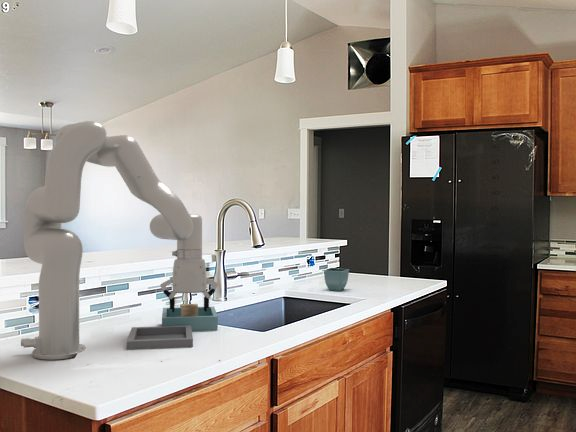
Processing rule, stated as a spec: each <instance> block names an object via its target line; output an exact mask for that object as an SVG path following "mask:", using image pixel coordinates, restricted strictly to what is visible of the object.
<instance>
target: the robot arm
mask: <svg viewBox="0 0 576 432" xmlns="http://www.w3.org/2000/svg"><path fill="white" fill-rule="evenodd" d="M107 135H108V133H107V130H106V128H105V126H103V125H102V124H101V123H99V122H97V121H95V120H94V121H93V120H91V121H90V120H87V121H86V120H85V121H79V122H74V123H69V124H66V125H63V126H62V127H60V128H59V129H58V130H57V132H56V135H55V140H54V141H55V144H54V146H53V147H52V149H51V151H50V153H49V155H48V158H47V163H46V171H45V179H44V185H43V186H39V187H37V188H35V189H34V190H33V191H32V192H31V193H30V195H29V196H28V199H27V202H26V205H25V214H24V215H25V216H24V233H23V234H24V235H23V246H24V248H23V249H24V252H25V255H26V256H27V257H28V258H29V259H30V261H32V262H34V263H38V264H41V268H40V273H39V277H38V336H34V338H26V337H25V338H21V340H20V346H21V347H23V348H34V349H33V350H32V353H31V354H32V357H33V358H35V359H39V360H46V361H47V360H48V361H50V360H53V361H54V360H65V359H71V358H75V357H76V356H77V355H78V354H79V353H82V352H84V351H85V350H86V347H87V346H86V345H85V344H81V343H80V272H81V265H82V260H83V252H84V251H83V244H82V240H81V239H80V237H79V236H78V234H76V233H75V232H73V231H72V230H69V229H65V228H62V224H66V223H70V222H72V221H74V220H76V219H77V218H78V216H79V213H80V209H81V208H80V207H81V192H82V179H83V178H82V177H83V170H84V166H85V165H86V163H87V162H88V163H90V164H94V165H98V166H103V167H107V168H110V167H111V168H113V167H115V168H116V170H117V172H118V173H119V175H120V177H121V179H122V180H123V181H124V183H125V185H126V187H127V188H128V190H129V191H130V193H131V194H132V195H133V196H134V197H135V198H137V199H139V200H140V201H142V202H145V203H146V204H148V205H149V206H151V207H152V208H154V209H155V210H156V211H157V212H159V214H157V215H155V216H153V218H152V219H151V221H150V222H149V230H150V233H151V234H152V235H153V236H154V237H155V238H157V239H161V240H170V241H176V250H173V251H171V253H172V256H173V257H174V256H175V257H176V259H174V262H173V267H172V277H171V278H170V279H167V280H165V281H163V282H162V283H161V284H160V288H161V290H162V292H163V294H164V295H165V296H166V297H167V298H168V299H169V308H170V309H172V312H174V308H175V306H176V305H175V304H176V303H175V301H176V300H175V296H176V295H177V294H198V293H202V294H203V295H204V297H203V307H204V311H207V308H209V307H210V297H212V295H213V294H214V293H216V289H217V288H218V286H219V283H218V282H217V281H214V280H213V279H211V278H208V277H207V265H206V261H205V259H204V258H203V218H202V216H201V215H199V214H194V213H193V214H190V213H189V211H188V210H187V208H186V206H185V204H184V203H183V201H182V200H181V199H180V198H179V197H178V195H177V194H176V193H175V192H174V191H172V189H170V188H169V186H167V185H166V184H165V183H164V182H162V180H160V179H159V177H158V176H157V174H156V173H155V171H154V169H153V167H152V166H151V164H150V162H149V160H148V158H147V156H146V155H145V153H144V151H143V150H142V148H141V146H140V144H139V142H138V141H137V140H136V139H135V138H134V137H133V136H129V135H127V134H126V135H124V134H122V135H121V134H120V135H112V136H107ZM170 284H171V285H172V291H171V292H170V291H169V290H168V288H167V287H168V286H169V285H170ZM208 284H210V285H212V287H211V288H210V290H208V291H207V287H208V286H207V285H208Z"/></svg>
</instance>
